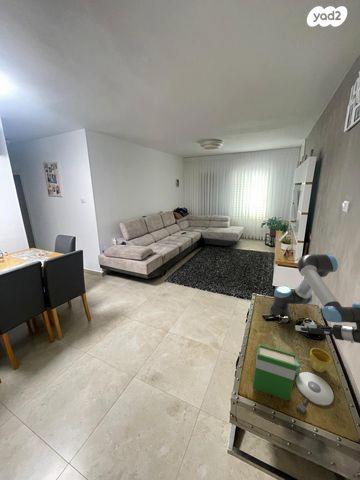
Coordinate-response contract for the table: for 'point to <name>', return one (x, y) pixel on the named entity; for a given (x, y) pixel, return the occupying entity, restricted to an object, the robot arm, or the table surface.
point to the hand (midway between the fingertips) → (300, 326)
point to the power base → (313, 390)
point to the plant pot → (319, 359)
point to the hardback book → (274, 372)
